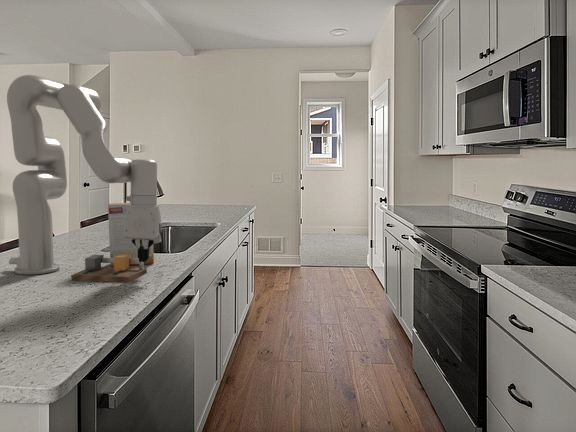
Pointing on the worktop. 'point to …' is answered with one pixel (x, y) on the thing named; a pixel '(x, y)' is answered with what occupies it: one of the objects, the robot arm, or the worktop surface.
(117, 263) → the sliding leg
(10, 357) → the worktop surface
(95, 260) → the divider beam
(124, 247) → the cracker box
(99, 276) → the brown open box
